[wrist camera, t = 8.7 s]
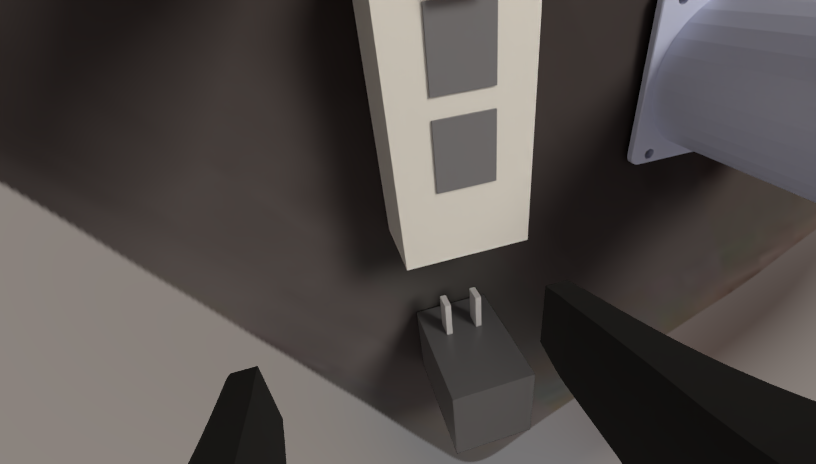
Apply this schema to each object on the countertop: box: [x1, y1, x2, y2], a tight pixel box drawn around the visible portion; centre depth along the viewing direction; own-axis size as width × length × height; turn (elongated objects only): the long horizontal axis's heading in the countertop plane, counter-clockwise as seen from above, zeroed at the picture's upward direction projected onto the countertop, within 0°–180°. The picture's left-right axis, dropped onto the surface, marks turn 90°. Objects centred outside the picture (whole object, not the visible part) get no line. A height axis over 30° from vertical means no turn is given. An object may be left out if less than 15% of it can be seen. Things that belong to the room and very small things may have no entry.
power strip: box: [352, 0, 542, 270], centre depth 14 cm, size 6×19×4 cm, turn 7°
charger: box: [417, 287, 535, 454], centre depth 22 cm, size 4×6×6 cm, turn 7°
